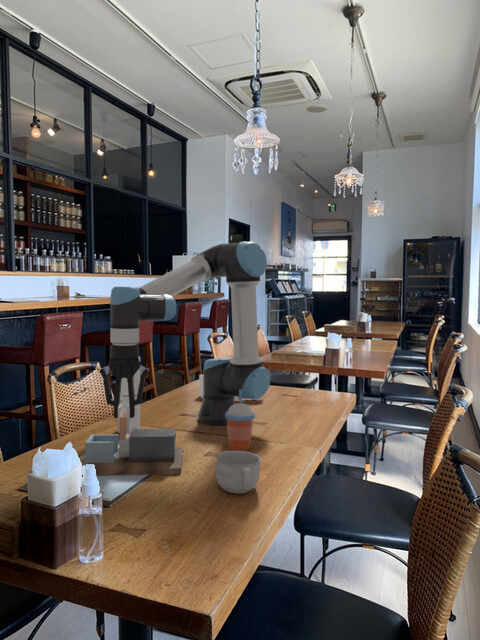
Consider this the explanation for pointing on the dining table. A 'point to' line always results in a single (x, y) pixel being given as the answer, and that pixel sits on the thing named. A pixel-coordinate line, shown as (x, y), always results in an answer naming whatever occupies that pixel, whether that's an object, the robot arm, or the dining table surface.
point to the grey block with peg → (124, 437)
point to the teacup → (237, 471)
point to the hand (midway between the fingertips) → (124, 429)
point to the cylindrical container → (125, 400)
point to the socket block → (101, 448)
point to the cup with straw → (239, 425)
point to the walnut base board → (137, 466)
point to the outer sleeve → (152, 445)
